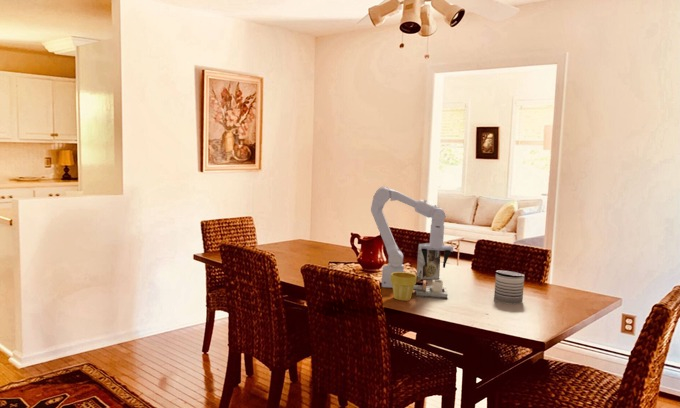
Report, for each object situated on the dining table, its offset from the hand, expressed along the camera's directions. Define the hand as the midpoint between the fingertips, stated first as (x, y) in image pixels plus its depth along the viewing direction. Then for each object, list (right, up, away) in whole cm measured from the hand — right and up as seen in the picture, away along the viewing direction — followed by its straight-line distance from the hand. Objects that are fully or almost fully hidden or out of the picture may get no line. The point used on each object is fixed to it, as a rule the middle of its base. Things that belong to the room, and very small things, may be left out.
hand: (434, 266), depth 243 cm
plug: (-1, -10, -9) cm, 14 cm away
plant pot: (-16, -11, -16) cm, 25 cm away
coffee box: (0, -8, +22) cm, 23 cm away
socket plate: (-3, -11, -8) cm, 14 cm away
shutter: (-8, -8, -8) cm, 14 cm away
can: (+28, -13, -12) cm, 33 cm away
